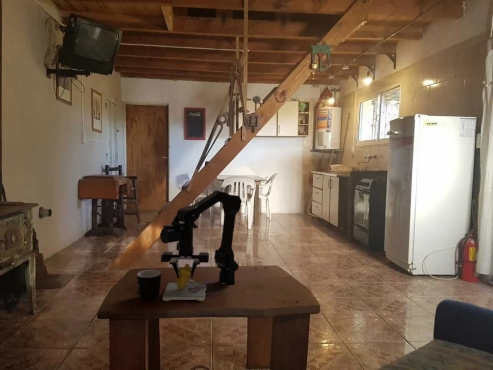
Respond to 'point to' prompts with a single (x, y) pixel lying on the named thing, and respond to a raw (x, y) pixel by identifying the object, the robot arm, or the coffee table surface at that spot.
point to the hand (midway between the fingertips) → (185, 278)
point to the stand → (184, 292)
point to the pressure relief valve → (184, 276)
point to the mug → (149, 284)
